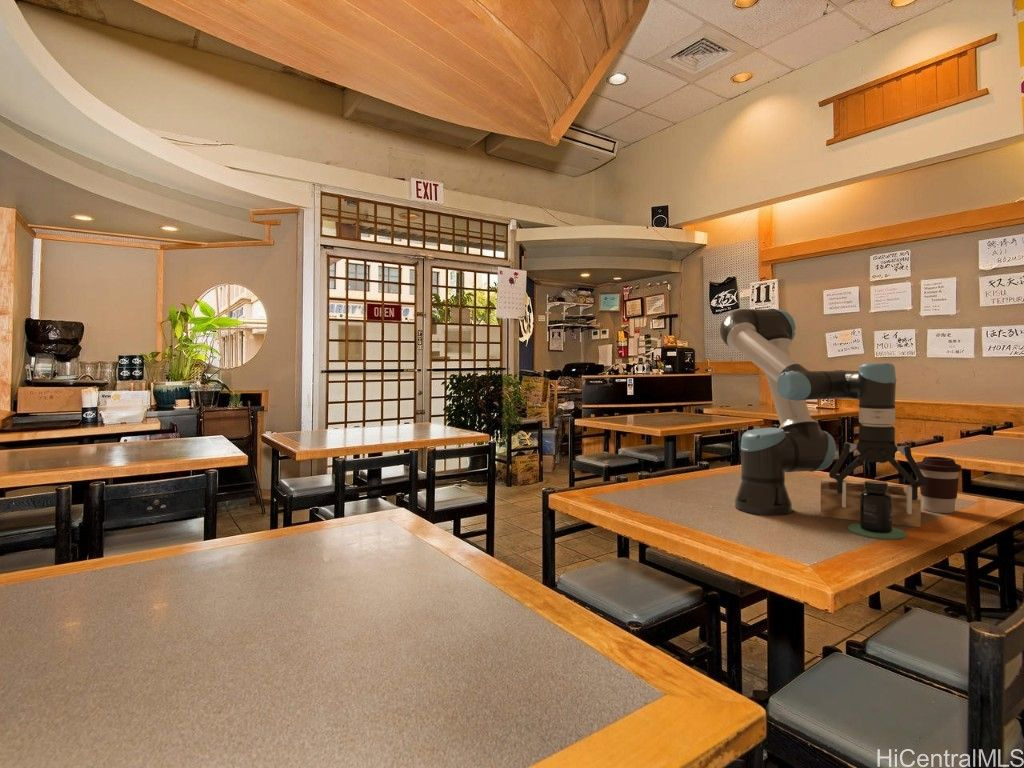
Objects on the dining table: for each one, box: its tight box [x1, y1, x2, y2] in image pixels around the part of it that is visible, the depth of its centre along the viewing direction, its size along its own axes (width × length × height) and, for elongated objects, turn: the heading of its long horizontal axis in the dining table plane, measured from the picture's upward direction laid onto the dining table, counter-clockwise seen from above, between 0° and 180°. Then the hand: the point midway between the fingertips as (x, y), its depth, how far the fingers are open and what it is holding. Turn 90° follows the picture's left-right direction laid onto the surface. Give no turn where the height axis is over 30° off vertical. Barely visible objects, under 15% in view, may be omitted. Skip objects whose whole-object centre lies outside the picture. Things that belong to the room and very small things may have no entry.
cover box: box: [820, 478, 922, 528], centre depth 154 cm, size 22×19×7 cm
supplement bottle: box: [859, 480, 894, 533], centre depth 137 cm, size 7×7×12 cm
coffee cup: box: [916, 456, 962, 514], centre depth 156 cm, size 10×10×15 cm
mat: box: [847, 522, 907, 541], centre depth 137 cm, size 12×12×1 cm
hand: (875, 509), depth 137 cm, fingers open, 13 cm apart
